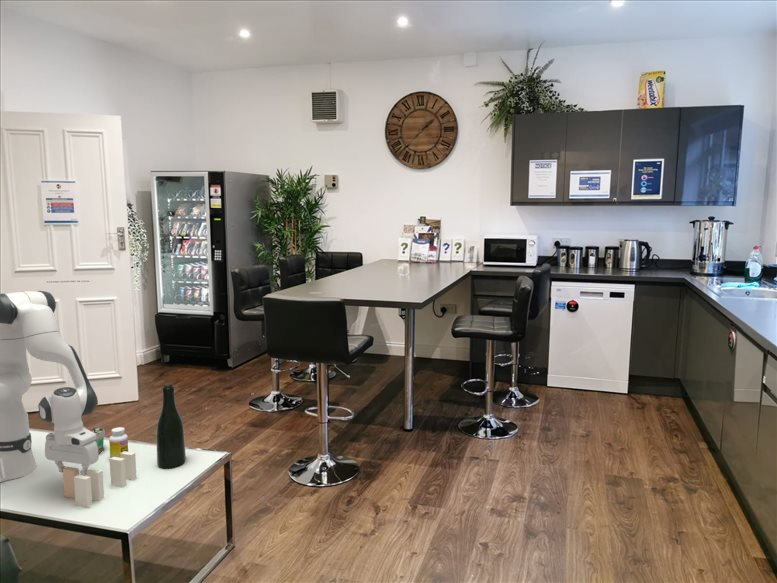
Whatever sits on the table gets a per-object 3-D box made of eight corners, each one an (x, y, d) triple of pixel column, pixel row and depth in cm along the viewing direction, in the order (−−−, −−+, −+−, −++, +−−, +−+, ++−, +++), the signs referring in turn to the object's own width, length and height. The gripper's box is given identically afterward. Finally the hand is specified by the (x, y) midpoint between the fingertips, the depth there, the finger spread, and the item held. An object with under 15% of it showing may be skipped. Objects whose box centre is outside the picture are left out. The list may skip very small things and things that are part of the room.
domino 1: (75, 498, 200) (74, 470, 199) (64, 496, 202) (62, 468, 200) (80, 495, 202) (78, 468, 201) (69, 493, 204) (67, 466, 202)
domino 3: (99, 500, 199) (97, 472, 197) (88, 498, 200) (86, 470, 199) (104, 497, 201) (102, 470, 199) (92, 495, 202) (90, 468, 201)
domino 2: (87, 507, 194) (85, 479, 193) (75, 505, 195) (73, 477, 194) (92, 504, 196) (90, 476, 194) (80, 502, 197) (78, 474, 196)
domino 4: (122, 487, 209) (120, 460, 207) (111, 485, 210) (109, 458, 209) (126, 484, 210) (124, 458, 209) (115, 482, 212) (113, 456, 211)
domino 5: (132, 481, 213) (131, 455, 212) (121, 479, 215) (120, 453, 214) (136, 478, 215) (135, 453, 214) (125, 476, 217) (124, 451, 216)
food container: (101, 460, 231) (99, 436, 230) (84, 461, 230) (82, 437, 229) (110, 448, 243) (109, 425, 242) (94, 449, 242) (93, 426, 241)
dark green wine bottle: (176, 472, 221) (173, 388, 216) (151, 470, 223) (147, 386, 218) (191, 461, 231) (187, 380, 227) (166, 459, 233) (163, 379, 229)
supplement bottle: (121, 464, 228) (119, 433, 226) (106, 462, 229) (104, 431, 227) (132, 457, 234) (130, 426, 232) (117, 456, 235) (116, 425, 234)
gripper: (37, 435, 199) (42, 473, 201) (85, 441, 193) (89, 480, 195) (53, 429, 205) (57, 466, 207) (100, 434, 199) (103, 472, 201)
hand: (73, 473), depth 201 cm, fingers open, 8 cm apart
